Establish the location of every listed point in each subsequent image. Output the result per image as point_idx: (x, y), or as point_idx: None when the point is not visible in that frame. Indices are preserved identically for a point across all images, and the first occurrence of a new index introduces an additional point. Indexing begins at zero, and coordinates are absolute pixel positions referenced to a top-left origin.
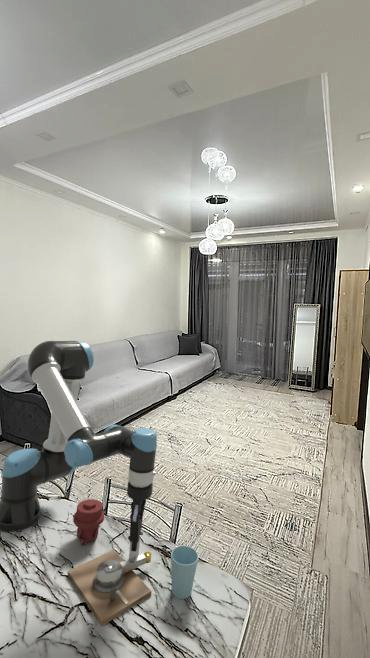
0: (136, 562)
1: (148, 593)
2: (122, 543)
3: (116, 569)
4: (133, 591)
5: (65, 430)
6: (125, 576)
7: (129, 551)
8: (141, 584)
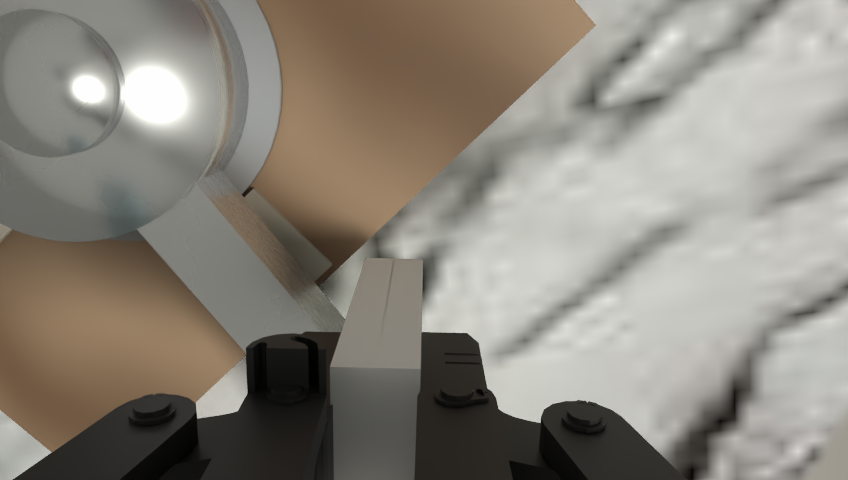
0: None
1: None
2: (754, 100)
3: (66, 174)
4: (54, 347)
5: None
6: None
7: (355, 289)
8: None
